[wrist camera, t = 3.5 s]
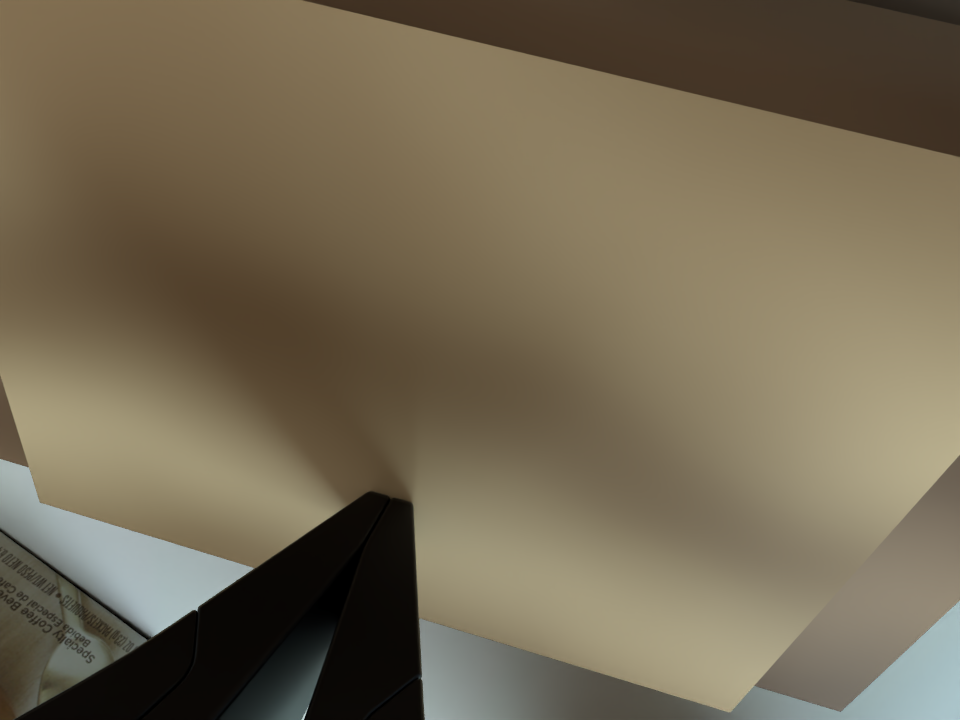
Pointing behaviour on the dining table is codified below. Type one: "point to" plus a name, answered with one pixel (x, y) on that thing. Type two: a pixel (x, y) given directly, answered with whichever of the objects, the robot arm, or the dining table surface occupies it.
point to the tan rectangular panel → (472, 321)
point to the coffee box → (49, 633)
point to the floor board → (799, 94)
